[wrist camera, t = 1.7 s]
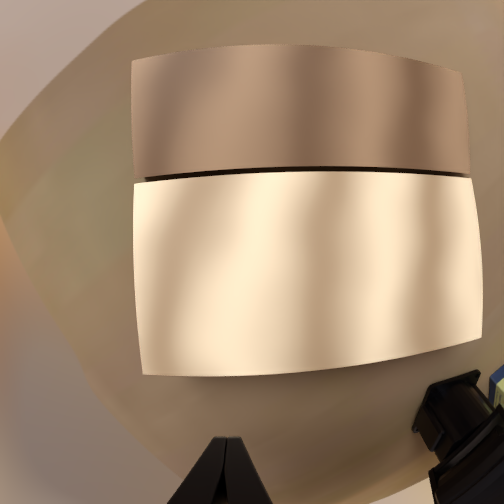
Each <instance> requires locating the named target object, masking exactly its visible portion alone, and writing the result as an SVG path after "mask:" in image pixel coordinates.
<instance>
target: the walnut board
mask: <svg viewBox="0 0 504 504" xmlns="http://www.w3.org/2000/svg"><path fill="white" fill-rule="evenodd" d="M131 120H132V146H133V163H134V177H135V178H142V177H150V176H159V175H168V174H177V173H187V172H198V171H211V170H224V169H240V168H259V167H287V166H363V167H390V168H408V169H423V170H436V171H447V172H457V173H467V174H470V146H469V129H468V117H467V107H466V99H465V91H464V84H463V78H462V73H460V72H457V71H454V70H451V69H447V68H444V67H440V66H437V65H433V64H429V63H425V62H421V61H417V60H412V59H408V58H403V57H398V56H393V55H388V54H382V53H376V52H370V51H363V50H356V49H347V48H338V47H326V46H311V45H241V46H226V47H214V48H205V49H196V50H189V51H182V52H175V53H169V54H163V55H158V56H153V57H148V58H143V59H138V60H134V61H132V69H131Z"/></svg>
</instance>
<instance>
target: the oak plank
mask: <svg viewBox="0 0 504 504" xmlns="http://www.w3.org/2000/svg"><path fill="white" fill-rule="evenodd" d="M133 250H134V281H135V299H136V313H137V325H138V335H139V345H140V354H141V362H142V370H143V374H148V375H169V376H245V375H266V374H281V373H294V372H305V371H315V370H324V369H332V368H340V367H347V366H354V365H361V364H367V363H373V362H379V361H385V360H390V359H396V358H401V357H406V356H411V355H415V354H420V353H424V352H429V351H433V350H437V349H441V348H445V347H449V346H453V345H457V344H461V343H464V342H468V341H471V340H475V339H478V338H481V333H482V310H483V281H482V258H481V245H480V234H479V225H478V217H477V210H476V203H475V197H474V192H473V186H472V181H471V178H461V177H450V176H438V175H424V174H407V173H385V172H276V173H252V174H234V175H219V176H206V177H194V178H183V179H173V180H163V181H154V182H146V183H137V184H134V211H133Z"/></svg>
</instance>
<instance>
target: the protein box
mask: <svg viewBox="0 0 504 504" xmlns="http://www.w3.org/2000/svg"><path fill="white" fill-rule="evenodd" d="M489 401H490V402H491V404H492V405H493V406H494V407H496V406H497V405H498V404H499V403H501V404H503V405H504V365H503V366H502V367H501V368H499V369H498V370H497V371H496V372H495V373H493V374H492V375H491V376H490V390H489ZM495 409H496V408H495Z"/></svg>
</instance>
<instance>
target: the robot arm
mask: <svg viewBox="0 0 504 504" xmlns="http://www.w3.org/2000/svg"><path fill="white" fill-rule="evenodd" d="M480 374H481V372H480V371H479V370H474V371H471V372H469V373H466V374H463V375H460V376H457V377H454V378H450V379H447V380H444V381H441V382H437V383H434V384H432V385H430V386H429V388H428V390H427V393H426V395H425V398H424V401H423V403H422V406H421V408H420V411H419V413H418V416H417V418H416V420H415V423H414V425H413V427H412V430H413V432H414V433H417V432H420V434H421V436H422V438H423V440H424V442H425V443H426V445H427V447H428V449H429V451H431V452H433V451H434V452H435V454H436V456H437V457H438V459H439V461H440V463H439V464H438V465H437V466H436V467H434V468H432V469H431V470H429V471H428V474H429V478H430V484H431V489H432V494H433V499H434V504H504V405H503V404H501V403H499V404H498V405H497V406H496V407H494V406H493V405H492V404H491V402H490V401H489V400H488V399H487V398H486V396H485V395H484V394H483V393H482V392H481V390H480V389H479V388H478V387H477V386H476V384H477V381H478V379H479V377H480ZM495 408H496V409H495ZM167 504H273V503H272V501H271V499H270V497H269V495H268V493H267V491H266V489H265V487H264V485H263V483H262V481H261V479H260V477H259V475H258V473H257V471H256V469H255V467H254V465H253V463H252V460H251V458H250V456H249V454H248V452H247V450H246V447H245V445H244V443H243V441H242V439H241V437H239V436H237V437H228V438H227V437H214V438H213V439H212V440H211V442H210V443H209V445H208V446H207V447H206V449H205V450H204V452H203V453H202V455H201V456H200V458H199V459H198V461H197V462H196V464H195V465H194V466H193V468H192V469H191V471H190V472H189V474H188V475H187V476H186V478H185V479H184V481H183V482H182V483H181V485H180V487H179V488H178V489H177V491H176V492H175V493H174V494H173V496H172V497H171V499H170V500H169V501H168V502H167Z"/></svg>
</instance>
